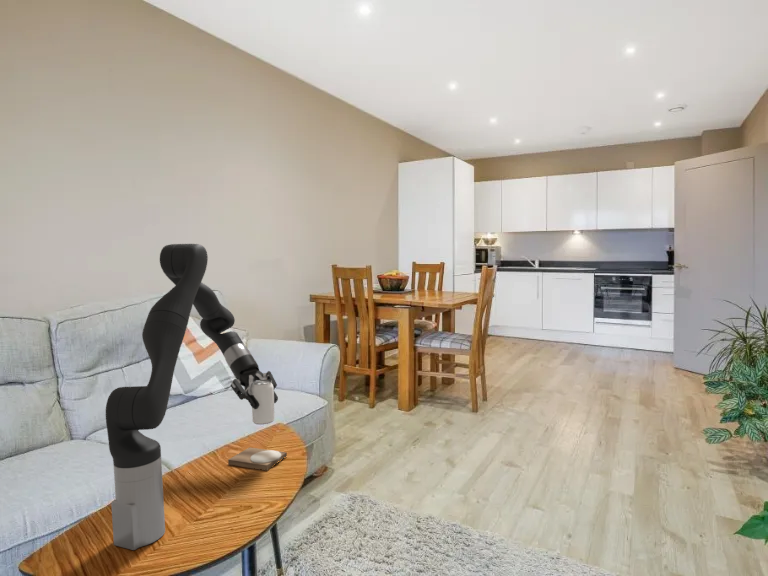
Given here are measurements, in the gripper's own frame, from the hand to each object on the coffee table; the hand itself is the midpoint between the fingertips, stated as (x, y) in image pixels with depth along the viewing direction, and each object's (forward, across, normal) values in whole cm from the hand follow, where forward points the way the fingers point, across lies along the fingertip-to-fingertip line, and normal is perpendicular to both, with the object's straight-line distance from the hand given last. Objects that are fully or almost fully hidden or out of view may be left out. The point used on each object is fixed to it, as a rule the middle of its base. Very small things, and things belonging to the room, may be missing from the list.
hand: (266, 404), depth 139 cm
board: (+10, -1, +16) cm, 18 cm away
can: (+3, 0, +5) cm, 6 cm away
